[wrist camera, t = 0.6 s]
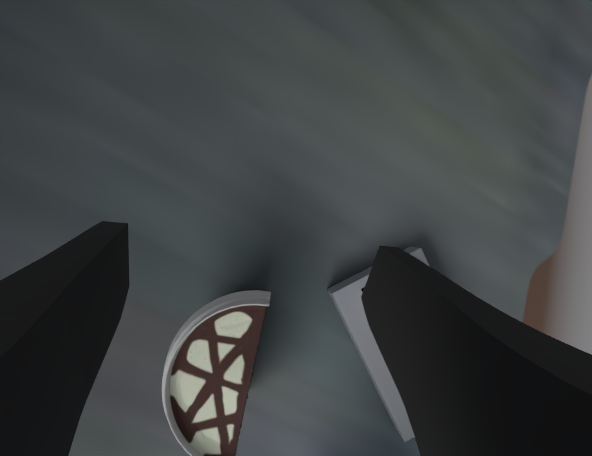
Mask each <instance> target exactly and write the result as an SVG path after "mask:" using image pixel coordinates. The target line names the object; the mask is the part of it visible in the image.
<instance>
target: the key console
mask: <svg viewBox="0 0 592 456" xmlns="http://www.w3.org/2000/svg"><path fill="white" fill-rule="evenodd" d="M404 251H405V252H407V253H409V254H411V255H412V256H414V257H416V258H417V259H419V260H420V261H422V262H424V263H425V264H427V265H428V266H429V264H428V261H427V259H426V257H425V255H424V253H423V251H422V249H421V248H418V247H408V248H406V249H404ZM371 269H372V266H371V267H369V268H367V269H365V270H363V271H361V272H359V273H357V274H355V275H353V276H351V277H349V278H347V279H346V280H344V281H342V282H340V283H338V284H336V285H334V286H332V287H330V288H328V289H327V290H328V292H329V294H330V296H331V298H332V300H333V302H334V304H335V306H336V309H337V311H338V313H339V315H340V317H341V319H342V321H343V323H344V325H345V327H346V329H347V331H348V333H349V335H350V337H351V339H352V341H353V343H354V345H355V347H356V349H357V351H358V353H359V355H360V357H361V359H362V361H363V363H364V365H365V367H366V370H367V372H368V374H369V376H370V378H371V380H372V382H373V384H374V386H375V388H376V390H377V392H378V394H379V396H380V398H381V400H382V402H383V404H384V406H385V408H386V410H387V412H388V414H389V416H390V418H391V420H392V422H393V424H394V426H395V428H396V430H397V431H398V433H399V434H400V436H401V437H402V439H403V440H404V442H407V441H408V440H410V439H412V438H414V437H415V436H414V433H413V430H412V427H411V424H410V421H409V418H408V415H407V412H406V409H405V406H404V404H403V401H402V399H401V396H400V394H399V392H398V389H397V387H396V385H395V383H394V381H393V378H392V376H391V374H390V372H389V370H388V367H387V365H386V363H385V361H384V359H383V356H382V354H381V352H380V350H379V348H378V345H377V343H376V341H375V339H374V336H373V334H372V332H371V330H370V327H369V324H368V321H367V318H366V315H365V311H364V307H363V304H362V300H361V296H362V293H363V292H362V290H361V289H362V288H364V287H365V285H366V282H367V280H368V277H369V274H370V271H371Z"/></svg>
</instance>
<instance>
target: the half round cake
mask: <svg viewBox="0 0 592 456" xmlns="http://www.w3.org/2000/svg"><path fill="white" fill-rule="evenodd" d="M270 297H271V292H269V291H260V290H252V291H241V292H236V293H231V294H228V295H225V296H222V297H219V298H217V299H215V300H213V301H211V302H210V303H208V304H206V305H204V306H203V307H202V308H200V309H199V310H198V311H196V312H195V313H194V314H193V315H192V316H191V317H190V318H189V319H188V320H187V321H186V322H185V323H184V324H183V326H182V327H181V329H180V330H179V332H178V333H177V334H176V336H175V338H174V340H173V342H172V344H171V346H170V348H169V351H168V355H167V358H166V361H165V367H164V373H163V380H162V400H163V405H164V411H165V414H166V417H167V420H168V423H169V425H170V428H171V430H172V432H173V434H174V435H175V437H176V439H177V441H178V442H179V443H180V445H181V446H182V447H183V448H184V450H185V451H186V452H187V453H188V454H189V455H190V456H236V454H237V448H238V441H239V434H240V429H241V426H242V419H243V415H244V409H245V405H246V400H247V398H248V391H249V386H250V381H251V377H252V375H253V367H254V363H255V358H256V354H257V349H258V345H259V340H260V336H261V331H262V326H263V321H264V316H265V311H266V306H269V305H270Z"/></svg>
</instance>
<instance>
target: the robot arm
mask: <svg viewBox="0 0 592 456" xmlns="http://www.w3.org/2000/svg"><path fill="white" fill-rule="evenodd" d="M128 289H129V251H128V223H116V222H105V221H102V222H100V223H98V224H96V225H95V226H93V227H91V228H90V229H88V230H87V231H85V232H83V233H82V234H80V235H79V236H77V237H75V238H74V239H72V240H71V241H69V242H67V243H66V244H64V245H62V246H61V247H59V248H57V249H56V250H54V251H53V252H51V253H49V254H48V255H46V256H44V257H43V258H41V259H39V260H37V261H35V262H34V263H32V264H30V265H28V266H26V267H24V268H23V269H21V270H19V271H17V272H15V273H13V274H12V275H10V276H8V277H6V278H4V279H2V280H0V456H68V454H69V451H70V448H71V445H72V441H73V438H74V435H75V432H76V429H77V425H78V422H79V419H80V416H81V413H82V411H83V408H84V405H85V403H86V400H87V397H88V395H89V393H90V390H91V388H92V386H93V383H94V381H95V378H96V376H97V374H98V371H99V369H100V367H101V364H102V362H103V360H104V357H105V355H106V353H107V350H108V348H109V345H110V343H111V341H112V338H113V336H114V333H115V331H116V329H117V326H118V324H119V321H120V319H121V315H122V311H123V308H124V304H125V300H126V297H127V293H128ZM361 300H362V304H363V307H364V311H365V315H366V318H367V321H368V324H369V327H370V330H371V332H372V334H373V336H374V339H375V341H376V343H377V345H378V348H379V350H380V352H381V354H382V356H383V359H384V361H385V363H386V365H387V367H388V370H389V372H390V374H391V376H392V378H393V381H394V383H395V385H396V387H397V389H398V392H399V394H400V396H401V399H402V401H403V404H404V406H405V409H406V412H407V415H408V418H409V421H410V424H411V427H412V430H413V433H414V436H415V439H416V442H417V445H418V448H419V451H420V455H421V456H592V355H591V354H589V353H586V352H584V351H581V350H579V349H577V348H575V347H572V346H570V345H568V344H565V343H564V342H561V341H559V340H556V339H555V338H552V337H550V336H548V335H546V334H544V333H542V332H540V331H538V330H536V329H534V328H532V327H530V326H528V325H526V324H524V323H522V322H520V321H518V320H516V319H515V318H513V317H511V316H509V315H507V314H505V313H503V312H502V311H500V310H498V309H496V308H495V307H493V306H491V305H490V304H488V303H486V302H485V301H483V300H481V299H480V298H478V297H476V296H475V295H473V294H471V293H470V292H468V291H467V290H465V289H463V288H462V287H460V286H459V285H457V284H456V283H454V282H452V281H451V280H449V279H448V278H446V277H445V276H443V275H442V274H440V273H439V272H437V271H436V270H434V269H433V268H431V267H430V266H428V265H427V264H425V263H424V262H422V261H420V260H419V259H417V258H416V257H414V256H412V255H411V254H409V253H407V252H405V251H404V250H402V249H400V248H397V247H386V246H380V247H379V250H378V252H377V255H376V258H375V261H374V263H373V266H372V269H371V271H370V274H369V277H368V280H367V282H366V285H365V288H364V290H363V293H362V296H361Z"/></svg>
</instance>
